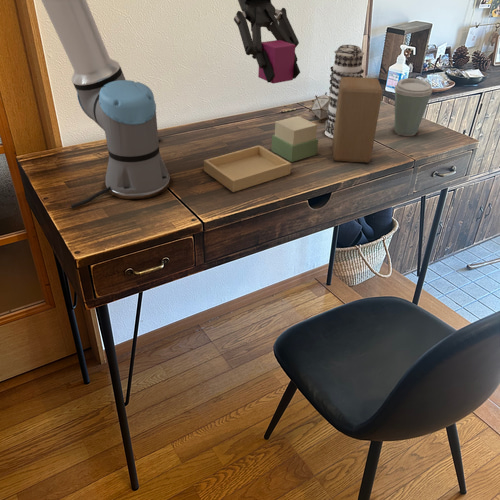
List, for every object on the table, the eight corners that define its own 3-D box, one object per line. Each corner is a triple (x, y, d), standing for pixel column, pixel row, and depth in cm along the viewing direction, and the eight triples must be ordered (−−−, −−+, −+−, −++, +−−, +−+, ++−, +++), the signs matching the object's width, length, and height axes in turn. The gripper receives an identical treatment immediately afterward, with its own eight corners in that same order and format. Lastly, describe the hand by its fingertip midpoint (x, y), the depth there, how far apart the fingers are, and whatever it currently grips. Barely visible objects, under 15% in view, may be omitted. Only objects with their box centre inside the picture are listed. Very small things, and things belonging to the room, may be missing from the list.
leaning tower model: (347, 142, 142) (359, 52, 127) (318, 135, 146) (327, 47, 131) (358, 132, 148) (372, 45, 134) (331, 126, 152) (341, 41, 138)
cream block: (293, 145, 128) (294, 130, 126) (274, 135, 133) (275, 121, 131) (315, 139, 132) (317, 124, 130) (297, 129, 137) (298, 115, 135)
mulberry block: (273, 83, 114) (275, 47, 109) (258, 77, 118) (259, 42, 113) (292, 80, 117) (295, 44, 112) (277, 73, 121) (279, 39, 116)
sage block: (291, 162, 130) (292, 146, 128) (271, 150, 136) (272, 135, 134) (316, 154, 135) (318, 139, 132) (296, 143, 140) (297, 128, 138)
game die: (319, 128, 160) (325, 98, 161) (339, 126, 154) (345, 95, 154) (301, 119, 155) (307, 88, 155) (321, 116, 148) (327, 84, 148)
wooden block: (366, 149, 138) (378, 77, 127) (370, 164, 130) (383, 89, 118) (331, 147, 139) (340, 75, 127) (332, 162, 131) (342, 87, 119)
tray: (233, 192, 116) (233, 180, 114) (204, 170, 125) (203, 160, 123) (290, 174, 124) (291, 163, 123) (259, 155, 133) (259, 145, 132)
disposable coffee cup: (429, 137, 146) (441, 87, 137) (396, 140, 144) (407, 89, 135) (411, 124, 154) (421, 76, 145) (380, 127, 152) (389, 78, 143)
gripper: (220, -20, 109) (254, 73, 107) (291, -23, 117) (325, 63, 115) (210, 3, 116) (242, 91, 114) (278, -2, 124) (309, 80, 122)
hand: (284, 77), depth 114 cm, fingers closed on mulberry block, 6 cm apart
